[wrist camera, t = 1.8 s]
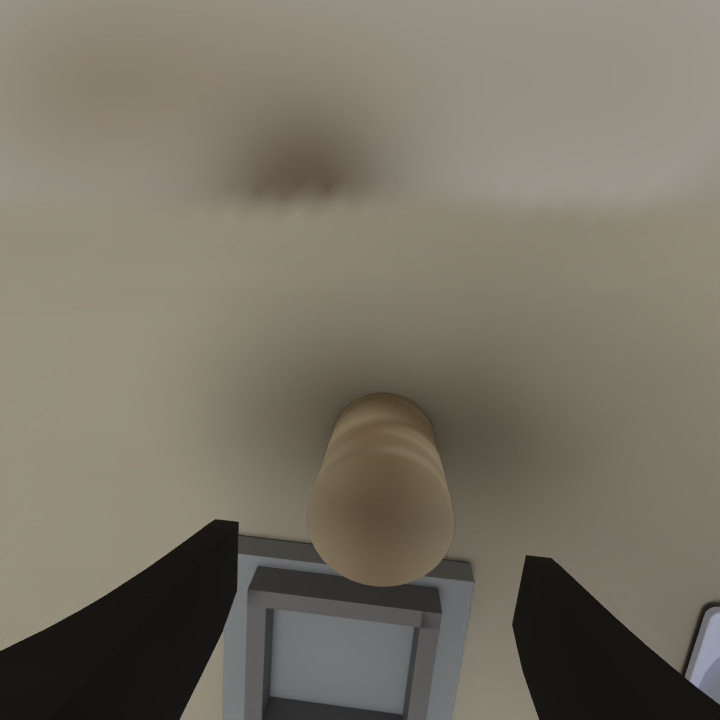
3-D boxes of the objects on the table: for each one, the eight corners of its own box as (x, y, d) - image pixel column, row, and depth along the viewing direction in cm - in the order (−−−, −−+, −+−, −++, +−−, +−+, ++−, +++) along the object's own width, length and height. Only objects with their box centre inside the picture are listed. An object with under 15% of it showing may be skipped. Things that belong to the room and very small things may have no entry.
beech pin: (440, 398, 18) (464, 463, 12) (427, 492, 19) (445, 595, 13) (336, 387, 18) (311, 447, 12) (329, 481, 19) (303, 577, 13)
